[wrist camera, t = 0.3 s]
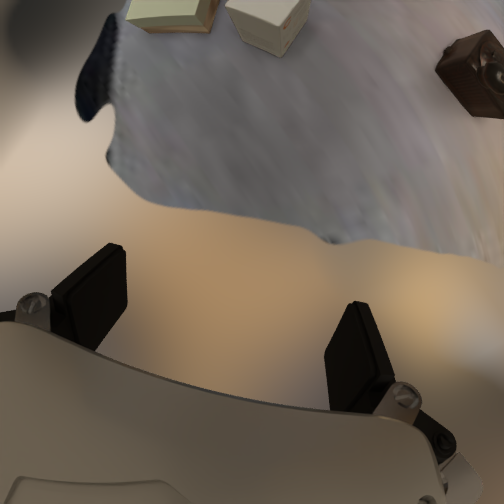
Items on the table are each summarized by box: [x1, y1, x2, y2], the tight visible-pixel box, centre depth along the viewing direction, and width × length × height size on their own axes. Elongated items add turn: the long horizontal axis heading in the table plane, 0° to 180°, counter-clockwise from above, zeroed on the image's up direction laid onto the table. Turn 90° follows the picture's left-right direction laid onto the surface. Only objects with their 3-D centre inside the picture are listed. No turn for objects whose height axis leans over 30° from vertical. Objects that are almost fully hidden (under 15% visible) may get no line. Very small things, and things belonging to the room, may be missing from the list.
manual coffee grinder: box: [435, 30, 504, 119], centre depth 19 cm, size 16×11×18 cm
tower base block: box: [140, 0, 220, 33], centre depth 26 cm, size 10×10×4 cm
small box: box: [224, 0, 311, 58], centre depth 23 cm, size 8×6×13 cm
